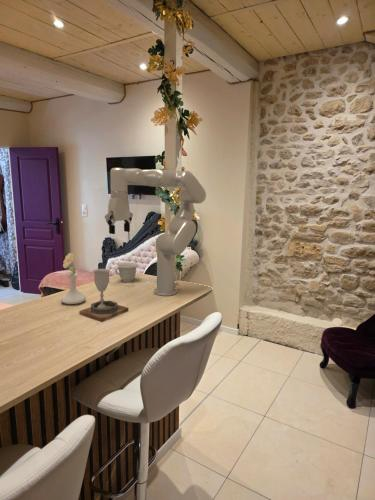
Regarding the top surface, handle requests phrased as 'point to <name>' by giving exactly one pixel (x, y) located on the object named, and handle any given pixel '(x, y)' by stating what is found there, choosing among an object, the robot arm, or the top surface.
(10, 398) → the top surface
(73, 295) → the flower in vase
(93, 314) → the display stand
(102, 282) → the chalice
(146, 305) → the top surface
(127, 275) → the teacup
